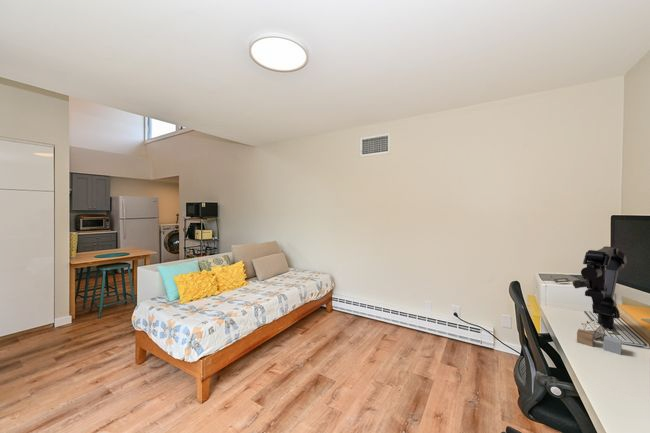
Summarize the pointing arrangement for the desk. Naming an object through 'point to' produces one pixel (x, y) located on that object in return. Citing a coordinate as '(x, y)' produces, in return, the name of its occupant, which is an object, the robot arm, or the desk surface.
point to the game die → (594, 328)
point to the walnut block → (585, 337)
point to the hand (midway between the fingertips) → (595, 307)
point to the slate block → (612, 344)
